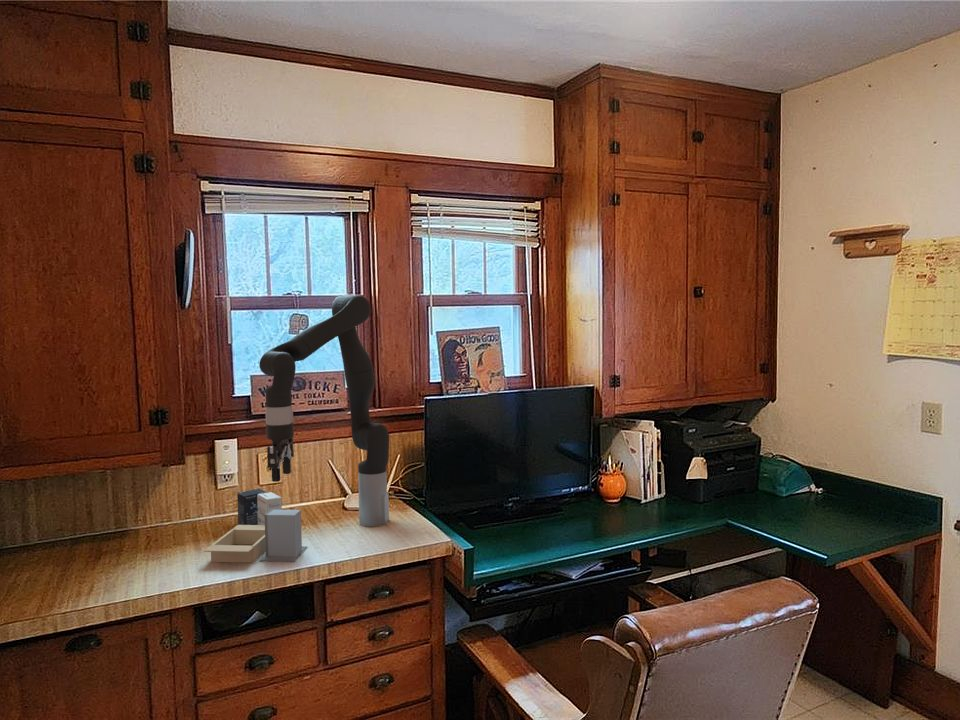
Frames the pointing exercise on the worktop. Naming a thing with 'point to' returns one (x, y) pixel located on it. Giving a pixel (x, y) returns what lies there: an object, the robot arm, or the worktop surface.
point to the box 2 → (283, 533)
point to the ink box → (267, 505)
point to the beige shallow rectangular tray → (239, 535)
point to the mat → (281, 557)
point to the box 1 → (248, 507)
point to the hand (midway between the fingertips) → (281, 477)
